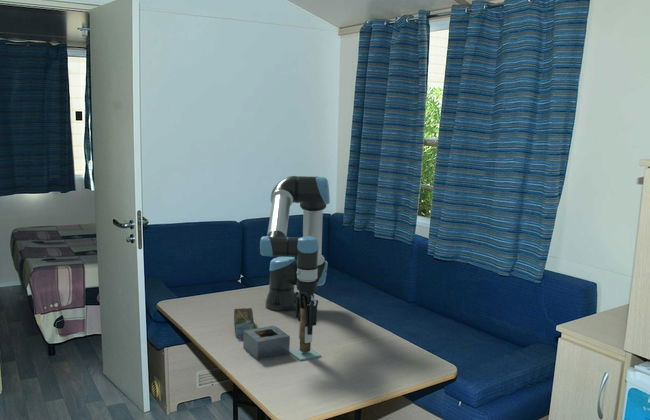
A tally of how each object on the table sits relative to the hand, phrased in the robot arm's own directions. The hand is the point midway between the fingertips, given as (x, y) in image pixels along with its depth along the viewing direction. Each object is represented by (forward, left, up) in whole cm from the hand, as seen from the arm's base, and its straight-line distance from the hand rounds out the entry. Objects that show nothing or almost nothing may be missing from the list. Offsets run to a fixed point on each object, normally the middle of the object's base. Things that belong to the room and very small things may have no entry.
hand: (305, 340), depth 223 cm
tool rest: (0, 0, -6) cm, 6 cm away
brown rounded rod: (0, 0, -4) cm, 4 cm away
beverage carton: (+9, -36, -6) cm, 37 cm away
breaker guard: (+12, -9, -6) cm, 16 cm away
